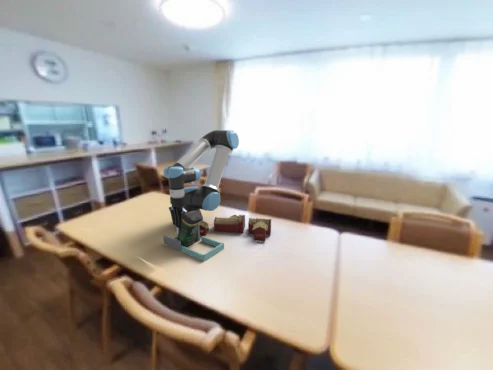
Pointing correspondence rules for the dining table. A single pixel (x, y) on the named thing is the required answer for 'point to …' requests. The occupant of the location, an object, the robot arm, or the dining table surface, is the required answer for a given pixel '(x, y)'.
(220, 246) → the teal u-shaped frame
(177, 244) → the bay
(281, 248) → the dining table surface
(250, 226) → the toy houses
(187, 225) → the coffee jar
